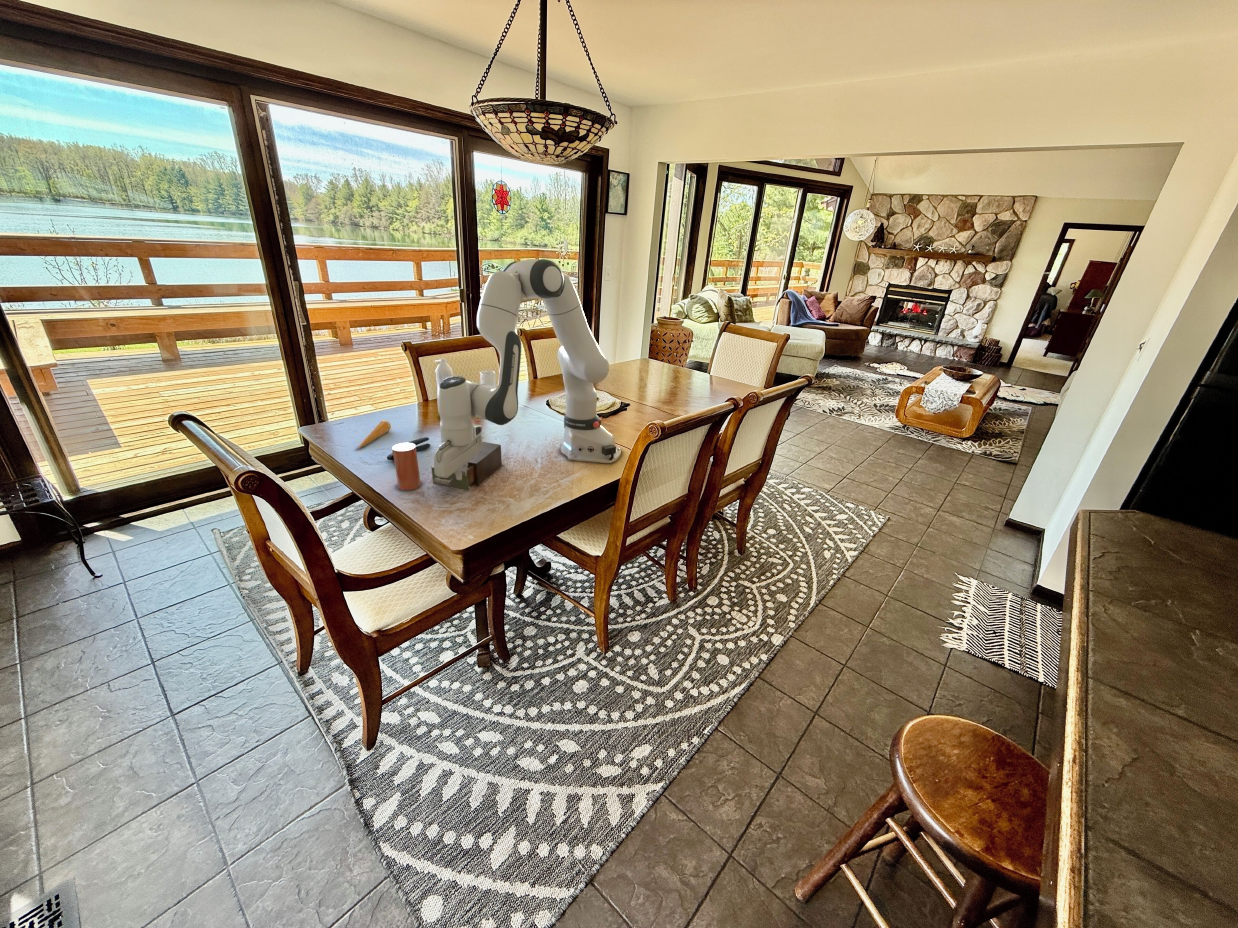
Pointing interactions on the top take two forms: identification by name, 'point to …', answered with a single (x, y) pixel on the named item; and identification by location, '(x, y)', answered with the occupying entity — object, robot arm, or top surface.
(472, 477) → the drawer
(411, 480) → the terracotta cylinder
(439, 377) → the water bottle
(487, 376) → the drinking glass
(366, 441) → the carrot
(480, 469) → the cabinet
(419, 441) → the can opener
